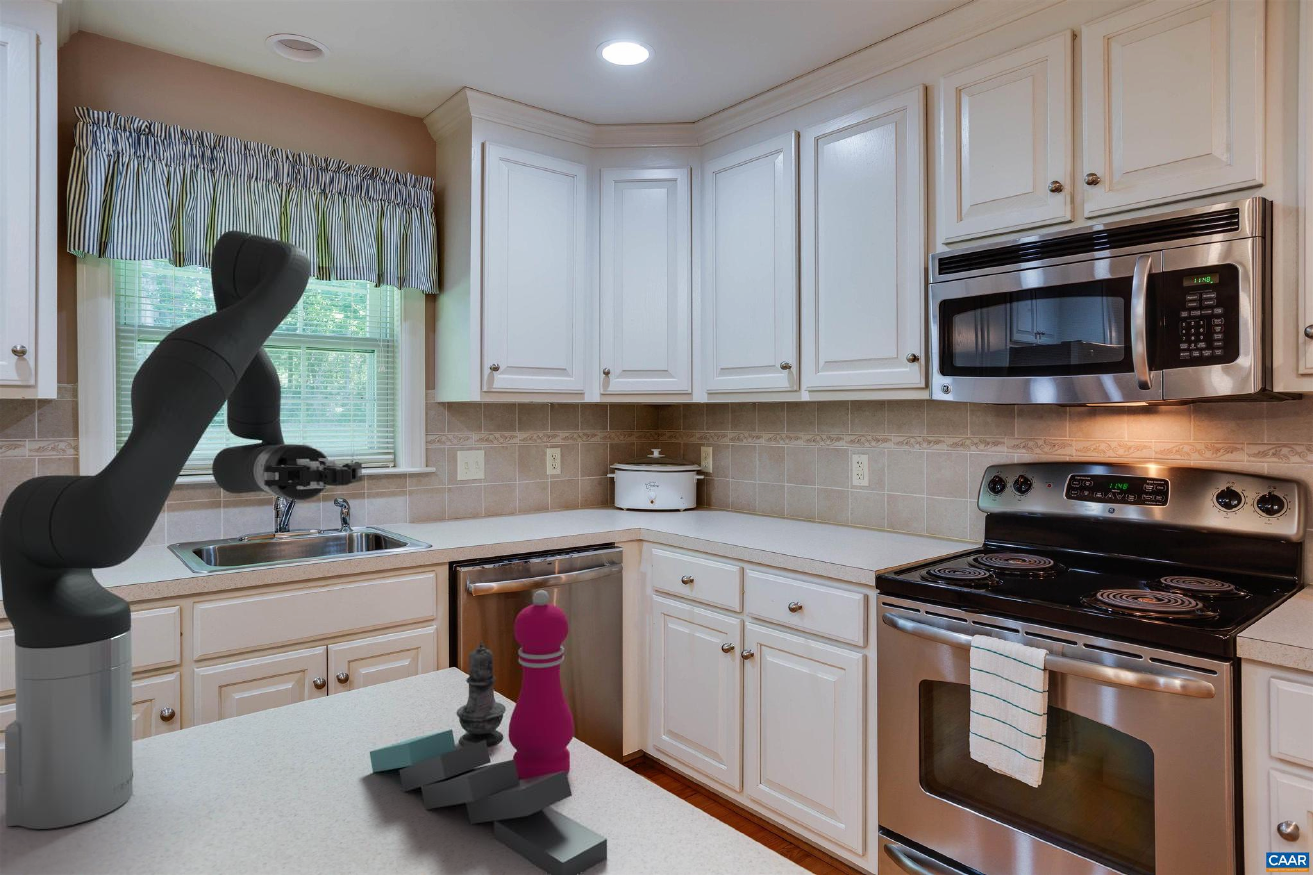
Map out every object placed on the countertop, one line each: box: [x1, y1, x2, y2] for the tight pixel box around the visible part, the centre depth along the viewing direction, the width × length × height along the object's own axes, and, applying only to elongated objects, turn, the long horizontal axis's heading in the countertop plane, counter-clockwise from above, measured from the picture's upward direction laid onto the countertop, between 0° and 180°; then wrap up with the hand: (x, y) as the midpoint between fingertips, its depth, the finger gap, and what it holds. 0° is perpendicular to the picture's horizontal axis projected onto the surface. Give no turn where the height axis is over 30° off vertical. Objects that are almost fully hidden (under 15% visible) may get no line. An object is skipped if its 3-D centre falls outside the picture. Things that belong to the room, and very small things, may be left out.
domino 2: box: [399, 740, 491, 793], centre depth 77 cm, size 2×5×10 cm
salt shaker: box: [456, 640, 507, 748], centre depth 92 cm, size 6×6×12 cm
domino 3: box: [420, 758, 520, 810], centre depth 74 cm, size 2×5×10 cm
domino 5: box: [493, 806, 608, 875], centre depth 68 cm, size 2×5×10 cm
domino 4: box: [465, 771, 573, 825], centre depth 71 cm, size 2×5×10 cm
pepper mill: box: [508, 590, 575, 780], centre depth 83 cm, size 7×7×20 cm
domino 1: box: [369, 729, 457, 773], centre depth 82 cm, size 2×5×10 cm
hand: (342, 476), depth 92 cm, fingers closed
